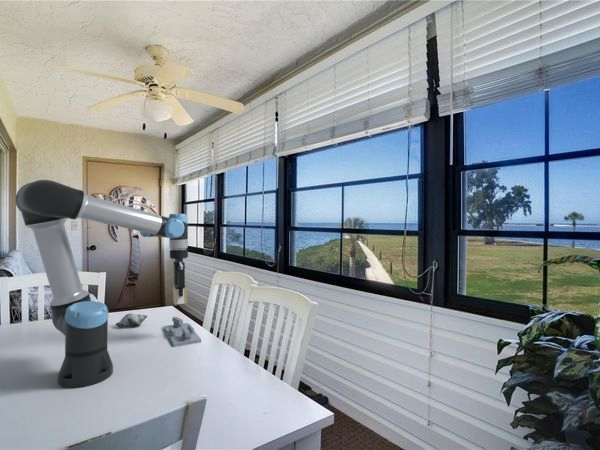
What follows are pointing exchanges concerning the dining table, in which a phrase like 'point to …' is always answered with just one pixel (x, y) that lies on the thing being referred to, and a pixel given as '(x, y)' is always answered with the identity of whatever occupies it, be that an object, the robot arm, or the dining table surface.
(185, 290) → the block
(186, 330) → the shaft bench
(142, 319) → the seashell
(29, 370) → the dining table surface
